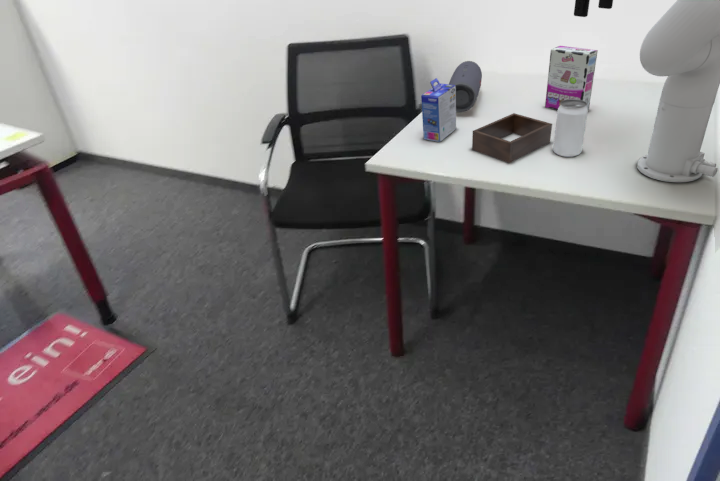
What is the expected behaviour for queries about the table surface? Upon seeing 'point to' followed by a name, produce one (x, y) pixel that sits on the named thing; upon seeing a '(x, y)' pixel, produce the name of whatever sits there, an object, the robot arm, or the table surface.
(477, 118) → the table surface
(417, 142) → the table surface
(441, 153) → the table surface
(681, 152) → the robot arm
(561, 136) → the can
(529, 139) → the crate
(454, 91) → the ink cartridge box
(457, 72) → the bluetooth speaker
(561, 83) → the candy bar box
